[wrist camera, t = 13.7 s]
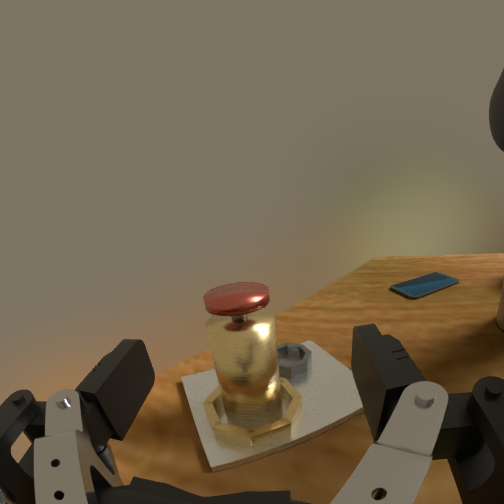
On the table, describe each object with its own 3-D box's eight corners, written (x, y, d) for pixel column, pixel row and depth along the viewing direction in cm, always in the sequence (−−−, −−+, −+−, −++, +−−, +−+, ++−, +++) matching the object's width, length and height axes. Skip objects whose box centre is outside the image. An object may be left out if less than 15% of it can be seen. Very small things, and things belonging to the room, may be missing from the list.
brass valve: (269, 389, 26) (255, 277, 24) (292, 419, 22) (283, 294, 19) (220, 404, 25) (195, 290, 22) (236, 439, 20) (209, 312, 18)
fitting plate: (310, 345, 36) (310, 330, 35) (382, 400, 23) (385, 383, 22) (182, 382, 30) (178, 366, 29) (212, 472, 17) (206, 457, 17)
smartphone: (387, 290, 50) (388, 285, 50) (436, 275, 53) (436, 271, 53) (413, 302, 43) (413, 297, 43) (460, 284, 46) (460, 279, 46)
